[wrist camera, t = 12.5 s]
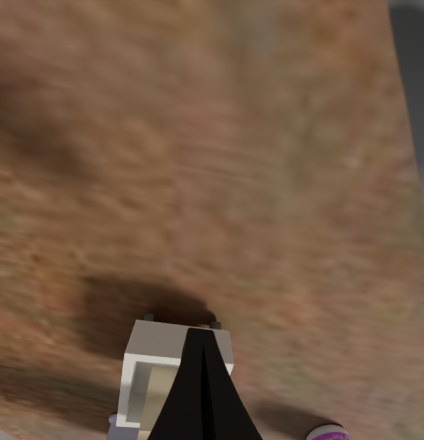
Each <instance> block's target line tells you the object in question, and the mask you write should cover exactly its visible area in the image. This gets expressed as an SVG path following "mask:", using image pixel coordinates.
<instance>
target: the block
mask: <svg viewBox="0 0 424 440" xmlns="http://www.w3.org/2000/svg"><path fill="white" fill-rule="evenodd" d="M177 371H178V368H173V367H162V366H152V370H151V374H150V379H149V384H148V389H147V394H146V399H145V404H144V408H143V413H142V418H141V423H140V428H139V433H138V438H137V440H147V439H148V437H149V435H150V433H151V431H152V429H153V427H154V424H155V422H156V420H157V418H158V416H159V414H160V412H161V410H162V407H163V405H164V403H165V401H166V399H167V396H168V394H169V391H170V389H171V387H172V384H173V381H174V379H175V376H176V374H177Z"/></svg>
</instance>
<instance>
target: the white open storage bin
mask: <svg viewBox="0 0 424 440" xmlns="http://www.w3.org/2000/svg"><path fill="white" fill-rule="evenodd" d="M153 320H154V314H152V313H145V315H144V318H143V320H136V322H135V325H134V327H133V330H132V333H131V336H130V339H129V342H128V345H127V348H126V350H125V354H124V362H123V371H122V379H121V388H120V396H119V405H118V413H117V421H116V426H118V427H136V428H140V423H141V418H142V413H143V408H144V404H145V399H146V394H147V389H148V384H149V379H150V374H151V370H152V366H162V367H173V368H179V365H180V361H181V354H182V350H183V346H184V342H185V338H186V334H187V330H188V328H190V327H192V326H184V325H176V324H168V323H160V322H153ZM192 328H200V327H192ZM200 329H208V328H200ZM208 330H213V331H214V333H215V337H216V340H217V343H218V346H219V349H220V352H221V355H222V358H223V360H224V363H225V365H226V368H227V370H228V373H229V375H230V373H231V371H232V368H233V366H234V361H233V355H232V348H231V342H230V335H229V331H224V330H222V329H221V323H220V322H214V321H211V323H210V327H209V329H208Z"/></svg>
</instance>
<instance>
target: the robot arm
mask: <svg viewBox="0 0 424 440" xmlns="http://www.w3.org/2000/svg"><path fill="white" fill-rule="evenodd" d="M116 421H117V414H114V415H111V416H109V422H110V423H111V425H110V428H109V432H108V435H107V438H106V440H137V438H138V433H139V428H136V427H118V426H116ZM147 440H263V439H262V437H261V436H260V434H259V433H258V431H257V429H256V427H255V425H254V424H253V422H252V420H251V418H250V417H249V415H248V413H247V411H246V409H245V407H244V405H243V403H242V401H241V399H240V397H239V395H238V393H237V391H236V389H235V387H234V384H233V382H232V380H231V378H230V375H229V373H228V370H227V368H226V365H225V363H224V360H223V358H222V355H221V352H220V349H219V346H218V343H217V340H216V337H215V333H214V331H213V330H208V329H200V328H192V327H190V328H188V330H187V334H186V338H185V342H184V346H183V350H182V354H181V361H180V365H179V368H178V371H177V374H176V376H175V379H174V381H173V384H172V387H171V389H170V391H169V394H168V396H167V399H166V401H165V403H164V405H163V407H162V410H161V412H160V414H159V416H158V418H157V420H156V422H155V424H154V427H153V429H152V431H151V433H150V435H149V437H148V439H147Z"/></svg>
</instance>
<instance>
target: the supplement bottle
mask: <svg viewBox="0 0 424 440" xmlns="http://www.w3.org/2000/svg"><path fill="white" fill-rule="evenodd" d="M306 440H351V438H350V436H349V434H348V433H347V431H346V430H345V429H344V428H342V427H340V426H337V425H324V426H320V427H318V428H316V429H314V430H313V431H311V432H310V433H309V434H308V436H307V438H306Z"/></svg>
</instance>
